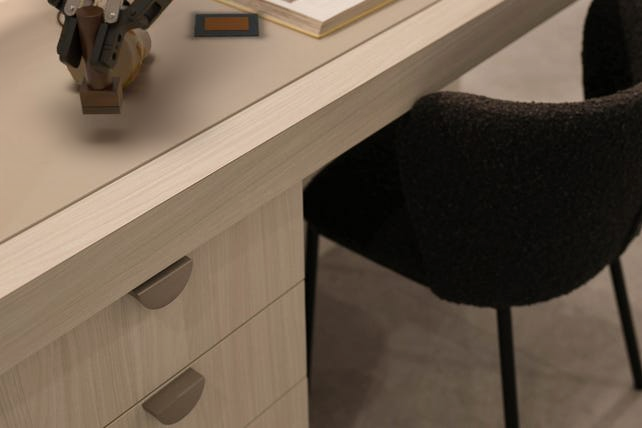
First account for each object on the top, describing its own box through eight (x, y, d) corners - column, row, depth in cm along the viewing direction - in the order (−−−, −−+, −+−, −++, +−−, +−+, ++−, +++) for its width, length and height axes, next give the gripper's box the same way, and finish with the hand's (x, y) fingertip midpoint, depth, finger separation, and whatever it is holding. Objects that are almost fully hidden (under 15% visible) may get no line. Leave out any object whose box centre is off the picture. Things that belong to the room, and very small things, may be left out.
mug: (172, 55, 91) (166, -2, 82) (128, 129, 87) (116, 78, 78) (108, 28, 91) (94, -32, 82) (62, 100, 88) (42, 46, 79)
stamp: (82, 115, 75) (67, 18, 69) (86, 99, 77) (72, 4, 71) (120, 114, 75) (107, 17, 69) (123, 99, 77) (111, 4, 71)
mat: (194, 39, 94) (194, 34, 93) (195, 17, 98) (195, 13, 98) (259, 38, 94) (258, 34, 94) (257, 16, 99) (257, 12, 98)
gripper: (228, -94, 75) (175, 96, 73) (87, -114, 78) (33, 67, 76) (199, -141, 68) (139, 68, 66) (44, -162, 71) (-16, 37, 69)
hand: (82, 67), depth 71 cm, fingers closed on stamp, 2 cm apart
